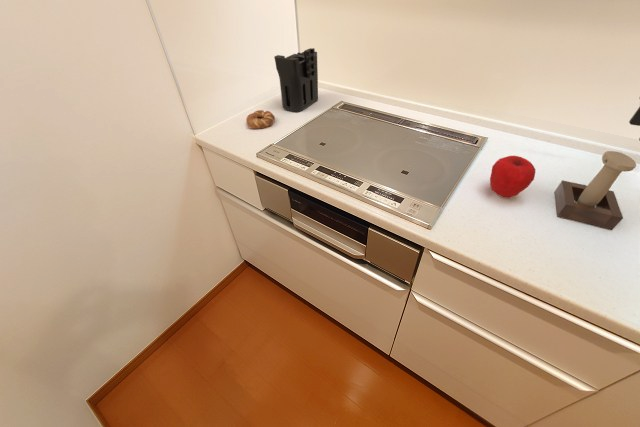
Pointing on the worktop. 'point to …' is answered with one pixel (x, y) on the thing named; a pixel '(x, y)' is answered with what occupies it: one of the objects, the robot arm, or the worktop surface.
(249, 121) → the brown bagel
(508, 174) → the apple
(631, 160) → the handle
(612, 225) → the socket block
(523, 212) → the worktop surface
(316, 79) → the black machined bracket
